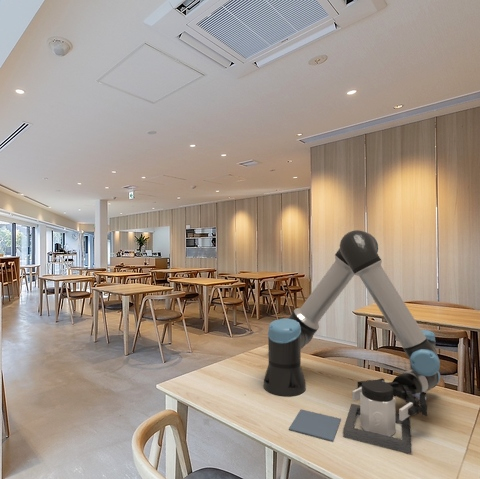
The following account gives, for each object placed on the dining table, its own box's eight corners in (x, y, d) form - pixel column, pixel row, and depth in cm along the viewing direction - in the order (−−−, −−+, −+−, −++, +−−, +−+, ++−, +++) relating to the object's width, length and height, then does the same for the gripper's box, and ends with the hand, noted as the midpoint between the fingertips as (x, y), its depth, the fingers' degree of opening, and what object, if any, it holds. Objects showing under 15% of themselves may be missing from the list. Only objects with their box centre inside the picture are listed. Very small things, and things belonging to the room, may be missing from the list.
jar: (360, 434, 86) (359, 389, 86) (360, 419, 93) (360, 377, 94) (397, 441, 83) (396, 394, 83) (394, 425, 90) (393, 382, 91)
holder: (343, 436, 84) (343, 429, 85) (351, 410, 99) (351, 403, 99) (411, 454, 77) (411, 445, 77) (409, 422, 92) (409, 415, 92)
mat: (288, 430, 88) (288, 428, 88) (300, 410, 98) (300, 409, 98) (333, 441, 82) (333, 440, 82) (340, 419, 93) (340, 418, 93)
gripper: (455, 412, 91) (424, 440, 78) (372, 384, 110) (336, 402, 97) (454, 386, 91) (423, 409, 78) (372, 362, 111) (336, 377, 98)
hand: (375, 405), depth 88 cm, fingers open, 13 cm apart
